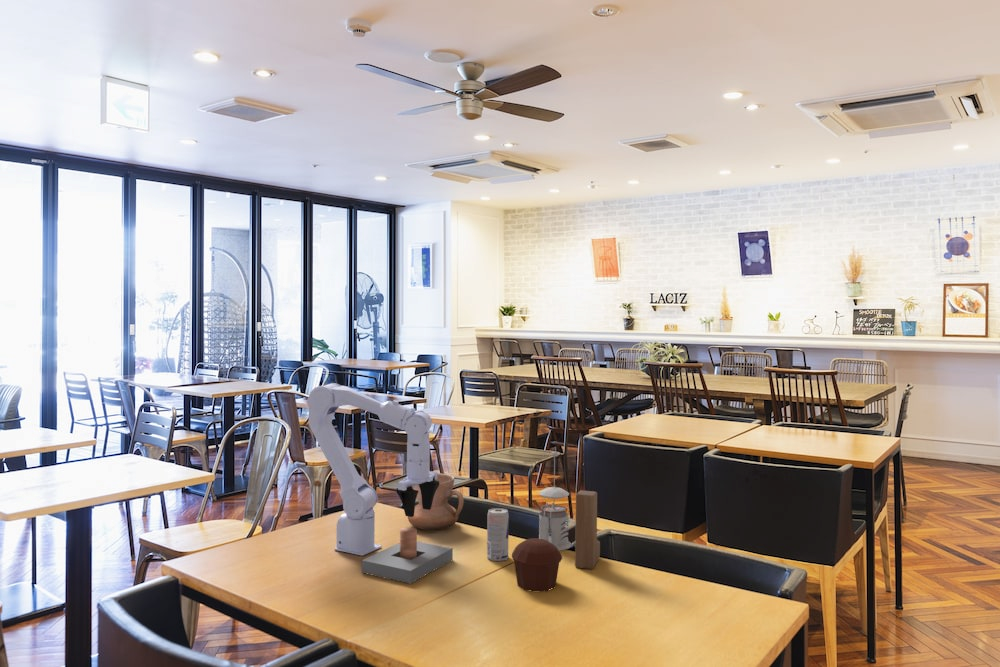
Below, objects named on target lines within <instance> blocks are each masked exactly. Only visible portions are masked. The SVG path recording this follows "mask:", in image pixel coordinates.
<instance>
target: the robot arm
mask: <svg viewBox="0 0 1000 667" xmlns="http://www.w3.org/2000/svg"><path fill="white" fill-rule="evenodd" d="M399 402H400V401H398V400H397V399H394V400H387V401H385V402H381V401H379V400H377V399H374V398H373V397H371V396H369V395H365V394H363V393H361V392H359V391H357V390H355V389H353V388H351V387H349V386H346V385H341V384H339V383H335V382H330V383H328V384H324V385H318V386H316V387H314V388H313V389H312V390H311V391H310V392H309V396H308V397H307V400H306V404H307V407H308V426H309V428H310V431H311V432H312V434H313V437H314V438H315V440H316V442H317V443H318V445H319V447H320V449H321V452H322V453H323V455H324V457H325V459H326V461H327V462H328V464H329V466H330V468H331V470H332V472H333V474H334V476H335V477H336V480H337V481H338V484H339V485H340V491H339V496H340V498H341V500H342V508H343V511H344V513H342V514H341V515H339V517H338V519H337V523H336V546H335V547H334V550H335V551H338V552H343V553H344V552H345V553H349V554H353V555H358V556H366V555H367V554H368V555H369V553H372V552H374V551H376V550H378V549H380V548H381V549H382V547H383V546H382V545H381V544H378V543H377V544H376V543H375V536H376V535H375V531H376V530H375V526H376V525H375V524H376V523H375V521H376V520H375V516H376V515H375V513H376V512H375V510H374V507H375V506H376V505H377V502H378V497H379V496H378V493H377V491H376V490H375V488H373V487H371V485H370V484H369V483H368V481H367V479H365V478H364V477H362V476H361V475H360V474H359V472H358V471H357V469H356V466H355V465H354V463H353V461H352V459H351V458H350V455H349V453H348V452H347V450H346V448H345V446H344V443H343V442H342V439H341V438H340V437H339V436H340V435H338V433H337V431H336V428H335V427H334V425H333V424H332V423H333V419H334V416H335V413H336V411H337V410H338V409H339V408H340V407H342V406H343V407H344V406H351V407H355V408H357V409H360V410H363V411H365V412H368V413H371V414H375V415H376V416H378V418H379V421H380V422H382V423H384V424H387V425H389V426H392V427H394V428H397V429H399V430H402V431H404V432H405V433H406V434H407V443H406V452H407V453H406V477H404V478H403V479H402V480H400V481H398V482H397V487H396V492H395V493H396V494H397V496H398V497H399V499H400V501H401V504H402V507H403V511H404V512H403V513H404V515H405V517H407V518H408V517H413V516H414V511H415V506H416V501H417V494H418V492H419V491H418V490H413V488H412V487H413V486H416V485H419V487H420V490H421V496H422V507H423V509H428V510H430V509H431V506H432V502H433V498H434V495H435V492H436V490H437V488H438V486H439V481H435V480H436V479H437V474H438V471H432V470H430V469H431V468H430V465H431V464H430V462H431V460H430V458H431V456H430V453H431V452H430V448H431V447H430V430H431V428H432V425H433V421H432V418H431V416H430V415H429V413H426V412H425V411H423V410H418V411H416V408H415V407H411V408H410V407H408V406H404V405H402V404H399Z"/></svg>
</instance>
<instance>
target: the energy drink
mask: <svg viewBox="0 0 1000 667" xmlns="http://www.w3.org/2000/svg"><path fill="white" fill-rule="evenodd" d="M486 518H487V525H486V526H487V528H486V531H487V532H486V535H487V536H486V548H487V549H486V550H487V551H486V558H487V559H488V560H489V559H490V561H491V560H493V561H492V562H503V561H504V562H505V561H506V560H508V558H509V538H510V537H509V535H510V533H509V526H510V524H509V522H510V517H509V510H508V509H507V508H503V507H501V508H500V507H496V508H495V507H492V508H490V509H488V512H487V517H486Z"/></svg>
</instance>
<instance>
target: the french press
mask: <svg viewBox="0 0 1000 667" xmlns="http://www.w3.org/2000/svg"><path fill="white" fill-rule="evenodd" d="M550 455H551V457H553V461H554V463H553V467H554V468H553V486H551V487H550V486H549V487H546V488H544V489H542V490H540V491H539V492H538V495H539V496H540V497H541V498H544V499H550V500H551V499H553V502H552V503H551V504H549V503H548V501H546V502H545V505H542V506H541V507H540V512H539V514H538V517H539V518H538V521H539V524H538V525H539V526H538V532H539V533H538V538H539V539H544V540H547V541H549V542H550V543H552V544H553V545H555V546H556V547H557V548H558V550H559V551H564V550H568V549H570V548H571V547H572V543H571V541H569V532H568V531H569V513H568V512H567V511H568V507H566V506H563V505H561V504H560V505H559V504H555V499H556V500H558V499H564V498H567V497H568V496H570V492H568V491H567V490H565V489H563V488H561V487H556V486H555V485H556V484H555V483H556V482H555V479H556V457H558V456H559V453H558V452H557V451H552V452H551V453H550Z"/></svg>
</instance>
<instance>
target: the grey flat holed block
mask: <svg viewBox="0 0 1000 667" xmlns="http://www.w3.org/2000/svg"><path fill="white" fill-rule="evenodd" d="M453 553H454V552H453V547H450V546H448V547H447V546H442V545H439V544H438V545H437V544H434V543H433V544H432V543H427V542H422V541H421V542H420V541H417V557H416V558H414V559H412V560H409V559H405V558H400V542H398V543H396V544H394V545H391V546H390V547H388V548H385V549H382V550H381V551H379V552H376V553H374V554H372V555H370V556H368V557H365V558H363V559H362V560H361V573H362V572H363V573H362V574H364V573H368V574H367V575H369V574H373V575H376V576H375V577H378V576H380V577H379V578H382V577H385V578H384V579H387V578H388V579H387V580H391V579H393V580H392V581H395V580H397V581H396V582H400V581H402V582H401V583H404V582H407V583H406V584H409V583H411V584H412V582H413V583H414V581H415V580H416V581H418V580H419V578H420V577H422V576H424V575H425V574H427V573H429V572H431V571H432V572H434V571H435V570H434V569H436V568H438V567H440V566H441V567H443V566H445V565H447V564H448V563H450V562H452V561H453V558H454V557H453V555H454V554H453ZM451 560H452V561H451ZM446 563H447V564H446ZM444 564H445V565H444ZM442 565H443V566H442ZM441 567H440V568H441ZM438 569H439V568H438ZM433 570H434V571H433ZM436 570H437V569H436ZM432 572H431V573H432ZM429 574H430V573H429ZM373 575H372V576H373ZM427 575H428V574H427ZM425 576H426V575H425ZM425 576H424V577H425ZM422 578H423V577H422ZM417 579H418V580H417ZM420 579H421V578H420ZM416 581H415V582H416Z"/></svg>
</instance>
